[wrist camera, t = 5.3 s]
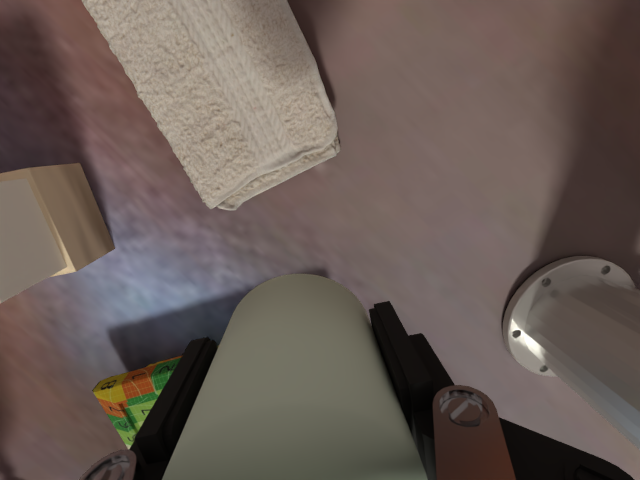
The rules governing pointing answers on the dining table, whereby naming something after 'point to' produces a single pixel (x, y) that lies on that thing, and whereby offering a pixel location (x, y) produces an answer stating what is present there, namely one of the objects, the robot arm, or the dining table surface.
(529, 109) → the dining table surface
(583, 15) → the dining table surface
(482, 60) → the dining table surface
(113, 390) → the puzzle game
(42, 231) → the cream middle block
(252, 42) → the washcloth
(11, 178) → the oak base block
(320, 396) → the sage round block
